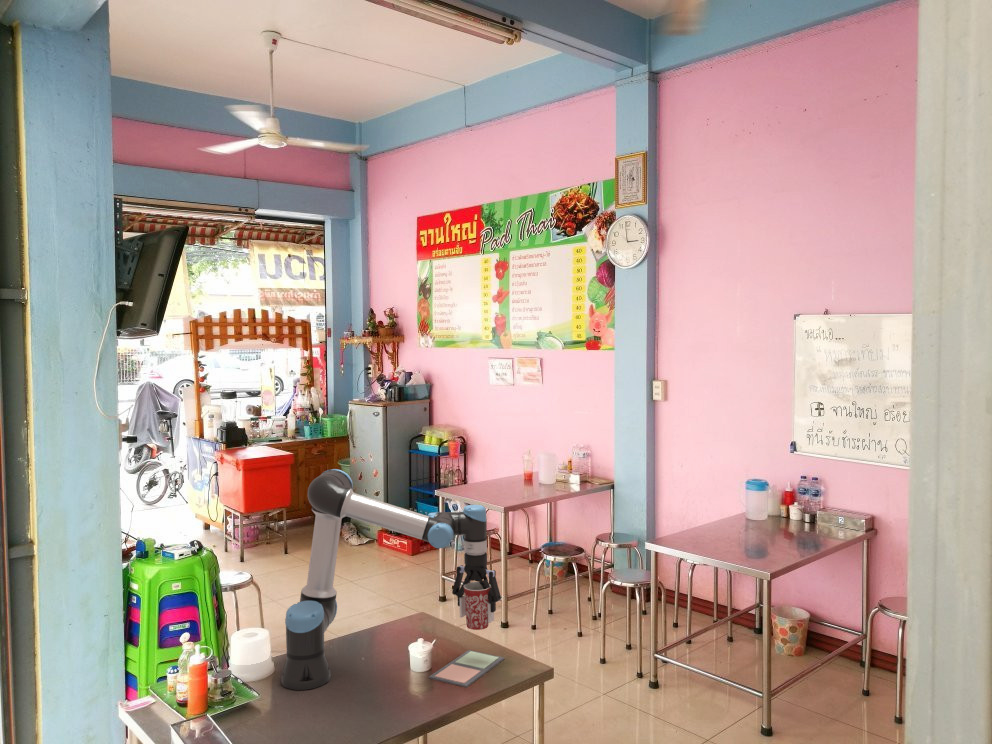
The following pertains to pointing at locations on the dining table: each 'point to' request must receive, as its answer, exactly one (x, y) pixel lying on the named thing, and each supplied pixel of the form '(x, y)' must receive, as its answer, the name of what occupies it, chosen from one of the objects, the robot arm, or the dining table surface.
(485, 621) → the mug
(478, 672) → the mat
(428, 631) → the dining table surface
